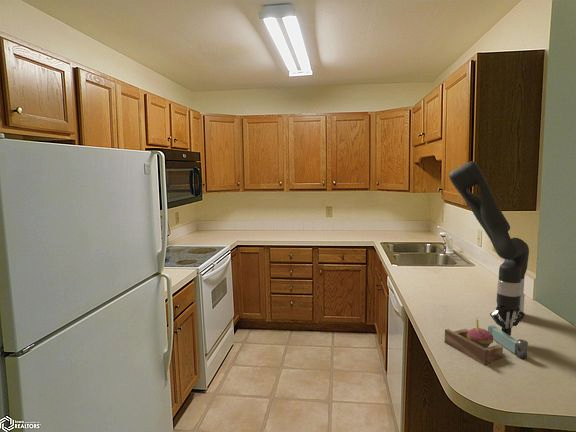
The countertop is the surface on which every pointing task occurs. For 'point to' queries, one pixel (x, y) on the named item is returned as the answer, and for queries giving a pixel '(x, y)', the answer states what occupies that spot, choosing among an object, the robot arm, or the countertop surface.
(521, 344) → the post
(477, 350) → the wooden u-shaped bracket
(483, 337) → the cupcake
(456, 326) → the countertop surface
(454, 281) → the countertop surface
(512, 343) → the bar
